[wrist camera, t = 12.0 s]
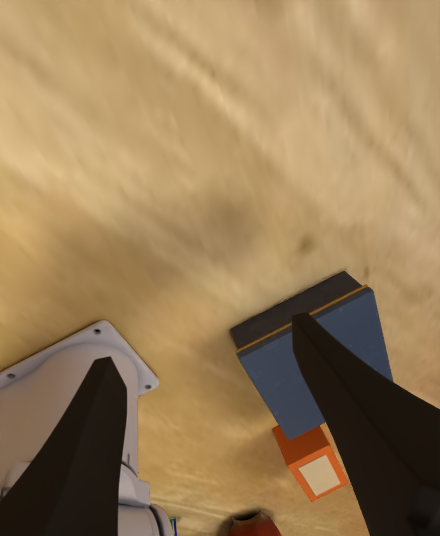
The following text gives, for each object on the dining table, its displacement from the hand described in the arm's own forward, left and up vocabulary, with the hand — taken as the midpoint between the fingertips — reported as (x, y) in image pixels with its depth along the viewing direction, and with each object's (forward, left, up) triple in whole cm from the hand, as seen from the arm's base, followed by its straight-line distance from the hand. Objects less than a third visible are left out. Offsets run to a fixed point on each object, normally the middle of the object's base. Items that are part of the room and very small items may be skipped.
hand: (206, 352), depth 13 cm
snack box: (+1, -28, -11) cm, 30 cm away
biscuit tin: (+5, -15, -11) cm, 19 cm away
